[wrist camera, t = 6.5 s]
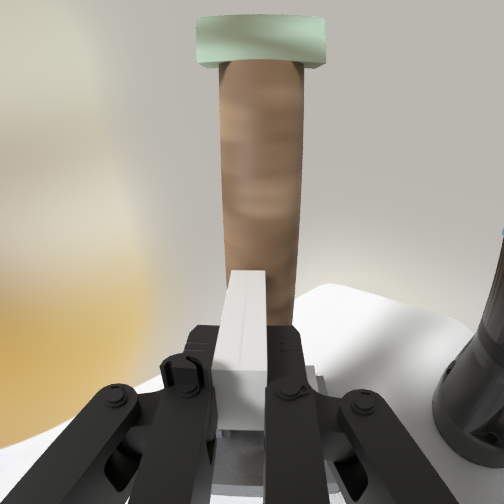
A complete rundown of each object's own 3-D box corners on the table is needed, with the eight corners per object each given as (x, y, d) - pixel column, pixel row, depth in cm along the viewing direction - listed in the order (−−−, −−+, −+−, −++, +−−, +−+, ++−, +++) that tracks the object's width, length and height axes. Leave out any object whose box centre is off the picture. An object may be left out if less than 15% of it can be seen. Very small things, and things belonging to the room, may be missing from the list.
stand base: (320, 390, 29) (330, 332, 27) (337, 493, 18) (360, 443, 15) (199, 388, 30) (191, 330, 27) (176, 490, 18) (155, 439, 16)
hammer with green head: (289, 401, 25) (313, 32, 12) (291, 437, 21) (327, 15, 9) (229, 400, 25) (209, 32, 13) (225, 436, 22) (194, 15, 9)
